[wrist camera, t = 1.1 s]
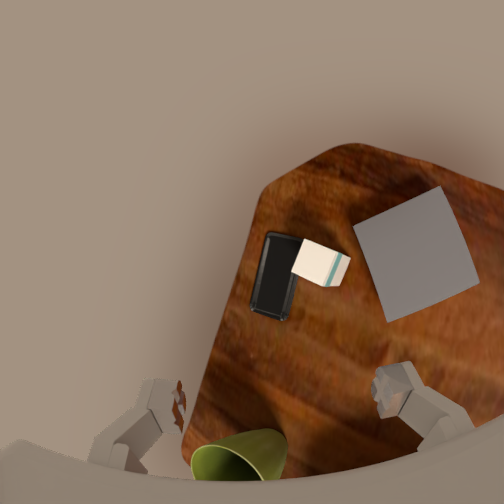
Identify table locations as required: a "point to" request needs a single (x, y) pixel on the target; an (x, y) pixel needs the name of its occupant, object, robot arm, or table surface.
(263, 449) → the flower pot
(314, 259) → the carton
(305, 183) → the table surface
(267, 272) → the phone
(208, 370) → the table surface
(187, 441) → the table surface
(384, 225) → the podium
